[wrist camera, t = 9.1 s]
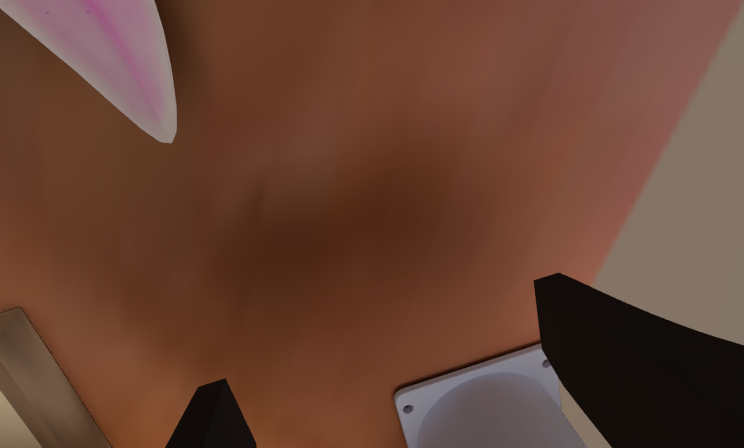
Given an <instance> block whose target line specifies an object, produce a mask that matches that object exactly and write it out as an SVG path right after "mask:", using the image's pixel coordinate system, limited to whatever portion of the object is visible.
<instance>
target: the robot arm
mask: <svg viewBox="0 0 744 448" xmlns="http://www.w3.org/2000/svg"><path fill="white" fill-rule="evenodd" d="M534 288H535V296H536V305H537V313H538V322H539V330H540V339H541V343H540V344H537V345H534V346H531V347H528V348H525V349H522V350H519V351H516V352H513V353H510V354H507V355H504V356H501V357H498V358H495V359H492V360H488V361H485V362H482V363H479V364H476V365H473V366H470V367H467V368H464V369H461V370H458V371H455V372H452V373H449V374H446V375H443V376H440V377H436V378H433V379H430V380H427V381H424V382H421V383H418V384H415V385H412V386H409V387H406V388H403V389H401V390H399V391H397V392H396V393H395V396H394V401H395V405H396V408H397V411H398V415H399V418H400V422H401V425H402V429H403V432H404V435H405V439H406V442H407V446H408V448H587V446H586V445H585V444H584V442H583V441H582V439H581V438H580V436H579V435H578V434H577V432H576V431H575V429H574V428H573V426H572V425H571V424H570V422H569V421H568V419H567V418H566V417H565V415H564V414H563V412H562V410H561V400H560V390H559V381H558V378H559V379H560V381H561V382H562V384H563V386H564V387H565V388H566V390H567V391H568V392H569V394H570V395H571V396H572V397H573V399H574V400H575V401H576V403H577V404H578V405H579V406H580V408H581V409H582V410H583V412H584V413H585V414H586V415H587V417H588V418H589V419H590V420H591V422H592V423H593V424H594V425H595V427H596V428H597V429H598V430H599V432H600V433H601V434H602V435H603V437H604V438H605V439H606V441H607V442H608V443H609V444H610V446H611V447H612V448H744V345H741V344H737V343H734V342H731V341H727V340H724V339H720V338H717V337H714V336H711V335H708V334H705V333H702V332H699V331H696V330H693V329H690V328H687V327H685V326H682V325H680V324H677V323H674V322H672V321H669V320H666V319H664V318H661V317H659V316H656V315H653V314H651V313H649V312H646V311H644V310H641V309H639V308H637V307H634V306H632V305H630V304H627V303H625V302H623V301H621V300H618V299H616V298H614V297H611V296H609V295H607V294H605V293H603V292H601V291H598V290H596V289H594V288H592V287H590V286H588V285H585V284H583V283H581V282H579V281H577V280H575V279H572V278H570V277H568V276H566V275H563V274H561V273H556V274H553V275H550V276H546V277H543V278H540V279H537V280H534ZM546 359H547V361H545V362H543V361H544V360H546ZM407 405H410V406H409V407H407V408H404V407H405V406H407ZM165 448H257V447H256V442H255V440H254V438H253V436H252V433H251V431H250V429H249V427H248V425H247V423H246V421H245V419H244V417H243V414H242V412H241V410H240V408H239V406H238V404H237V402H236V400H235V397H234V395H233V393H232V391H231V389H230V387H229V385H228V383H227V381H226V378H225V379H222V380H219V381H216V382H213V383H209V384H206V385H203V386H200V387H198V389H197V390H196V392H195V394H194V396H193V397H192V399H191V401H190V403H189V405H188V406H187V408H186V410H185V412H184V414H183V416H182V417H181V419H180V421H179V423H178V425H177V427H176V429H175V430H174V432H173V434H172V436H171V438H170V440H169V441H168V443H167V445H166V447H165Z"/></svg>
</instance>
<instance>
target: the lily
mask: <svg viewBox="0 0 744 448" xmlns="http://www.w3.org/2000/svg"><path fill="white" fill-rule="evenodd" d="M0 8H1V9H2V10H3V11H4V12H5V13H6V14H8V15H9V16H10V17H11V18H12V19H14V20H15V21H16V22H17V23H18V24H20V25H21V26H22V27H23V28H24V29H25V30H27V31H28V32H29V33H30V34H31V35H33V36H34V37H35V38H36V39H37V40H39V41H40V42H41V43H42V44H43V45H45V46H46V47H47V48H48V49H50V50H51V51H52V52H53V53H54V54H56V55H57V56H58V57H59V58H60V59H62V60H63V61H64V62H65V63H66V64H68V65H69V66H70V67H71V68H73V69H74V70H75V71H76V72H77V73H78V74H79V75H81V76H82V77H83V78H84V79H85V80H86V81H87V82H88V83H90V84H91V85H92V86H93V87H94V88H95V89H96V90H97V91H99V92H100V93H101V94H102V95H103V96H104V97H105V98H106V99H108V100H109V101H110V102H111V103H112V104H113V105H114V106H115V107H117V108H118V109H119V110H120V111H121V112H122V113H124V114H125V115H126V116H127V117H128V118H129V119H130V120H132V121H133V122H134V123H135V124H136V125H137V126H138V127H140V128H141V129H142V130H144V131H145V132H147V133H148V134H149V135H151V136H152V137H154V138H155V139H156V140H158V141H159V142H164V143H172V141H173V139H174V136H175V134H176V131H177V110H176V99H175V91H174V83H173V76H172V69H171V64H170V59H169V54H168V49H167V44H166V40H165V35H164V30H163V27H162V24H161V20H160V17H159V14H158V10H157V7H156V4H155V1H154V0H0Z"/></svg>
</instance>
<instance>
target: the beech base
mask: <svg viewBox="0 0 744 448" xmlns="http://www.w3.org/2000/svg"><path fill="white" fill-rule="evenodd" d="M0 448H111V446H110V445H109V443H108V442H107V440H106V438H105V437H104V435H103V434H102V432H101V431H100V429H99V428H98V426H97V425H96V423H95V422H94V420H93V418H92V417H91V415H90V414H89V412H88V411H87V409H86V408H85V406H84V405H83V403H82V402H81V400H80V398H79V397H78V395H77V394H76V392H75V391H74V389H73V388H72V386H71V385H70V383H69V381H68V380H67V378H66V377H65V375H64V374H63V372H62V371H61V369H60V368H59V366H58V365H57V363H56V361H55V360H54V358H53V357H52V355H51V354H50V352H49V351H48V349H47V348H46V346H45V345H44V343H43V341H42V340H41V338H40V337H39V335H38V334H37V332H36V331H35V329H34V328H33V326H32V325H31V323H30V321H29V320H28V318H27V317H26V315H25V314H24V312H23V311H22V309H21V308H20V307H19V308H15V309H12V310H9V311H5V312H2V313H0Z"/></svg>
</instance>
